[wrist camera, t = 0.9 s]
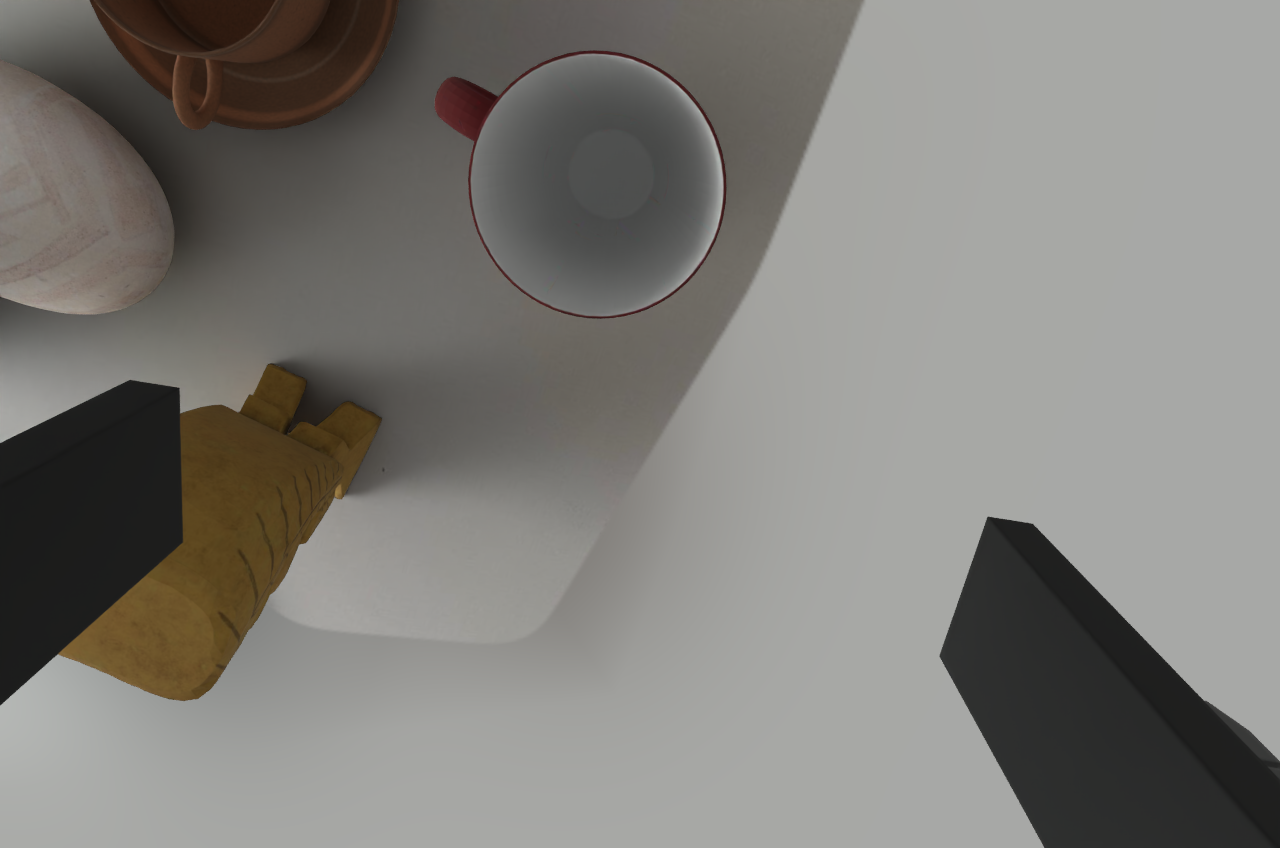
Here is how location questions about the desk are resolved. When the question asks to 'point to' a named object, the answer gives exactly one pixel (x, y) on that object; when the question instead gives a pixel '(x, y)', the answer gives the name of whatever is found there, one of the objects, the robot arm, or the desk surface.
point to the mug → (591, 181)
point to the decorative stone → (74, 205)
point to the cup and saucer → (251, 54)
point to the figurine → (228, 536)
